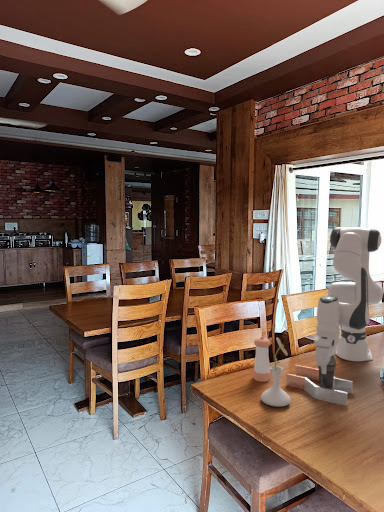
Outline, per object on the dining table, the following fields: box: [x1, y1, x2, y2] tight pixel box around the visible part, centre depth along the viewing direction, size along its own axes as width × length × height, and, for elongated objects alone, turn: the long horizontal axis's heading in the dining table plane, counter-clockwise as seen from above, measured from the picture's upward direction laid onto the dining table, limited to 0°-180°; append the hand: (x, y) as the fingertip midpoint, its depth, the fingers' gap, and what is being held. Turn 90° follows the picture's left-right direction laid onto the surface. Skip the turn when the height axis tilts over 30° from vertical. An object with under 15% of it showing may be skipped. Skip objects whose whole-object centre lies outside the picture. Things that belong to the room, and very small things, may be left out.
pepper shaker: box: [253, 336, 271, 382], centre depth 170 cm, size 7×7×19 cm
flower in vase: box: [260, 337, 292, 408], centre depth 148 cm, size 13×11×25 cm
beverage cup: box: [317, 355, 337, 389], centre depth 155 cm, size 7×7×20 cm
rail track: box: [286, 364, 354, 407], centre depth 160 cm, size 19×25×5 cm
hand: (326, 370), depth 155 cm, fingers closed on beverage cup, 7 cm apart
